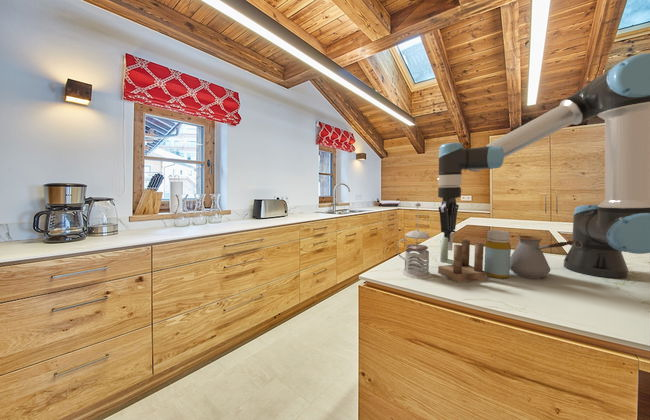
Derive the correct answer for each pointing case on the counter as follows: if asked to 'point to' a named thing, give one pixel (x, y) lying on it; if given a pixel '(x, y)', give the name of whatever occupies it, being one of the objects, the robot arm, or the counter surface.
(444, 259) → the swing leg
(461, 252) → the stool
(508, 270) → the bottle
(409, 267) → the french press
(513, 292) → the counter surface
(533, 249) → the coffee pot
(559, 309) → the counter surface
